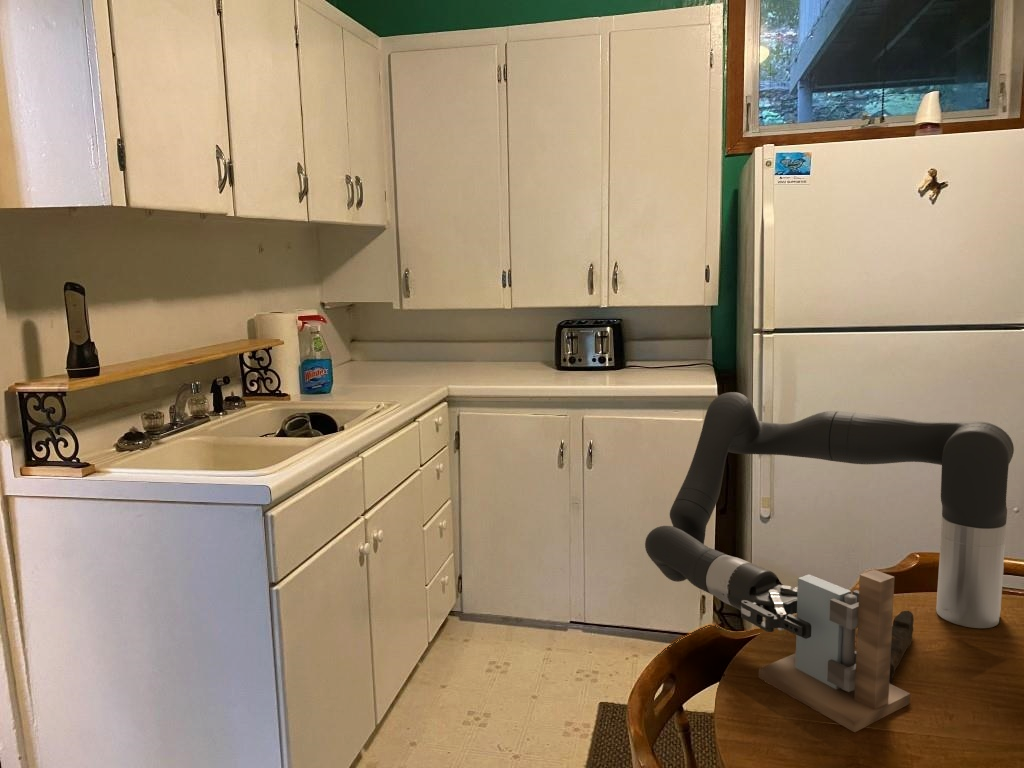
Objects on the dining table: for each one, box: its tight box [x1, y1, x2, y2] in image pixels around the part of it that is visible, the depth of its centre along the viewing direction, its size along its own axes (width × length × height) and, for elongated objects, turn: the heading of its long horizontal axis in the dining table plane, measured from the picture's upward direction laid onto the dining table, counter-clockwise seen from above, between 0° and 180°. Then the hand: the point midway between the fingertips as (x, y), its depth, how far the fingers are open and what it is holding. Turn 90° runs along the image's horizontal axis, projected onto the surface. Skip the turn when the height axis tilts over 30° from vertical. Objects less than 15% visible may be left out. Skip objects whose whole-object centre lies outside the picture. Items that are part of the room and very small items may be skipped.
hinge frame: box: [758, 569, 911, 733], centre depth 109 cm, size 12×16×20 cm
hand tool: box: [889, 610, 915, 684], centre depth 119 cm, size 19×4×5 cm, turn 138°
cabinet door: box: [795, 573, 857, 691], centre depth 109 cm, size 2×9×14 cm, turn 30°
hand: (829, 623), depth 109 cm, fingers open, 8 cm apart
